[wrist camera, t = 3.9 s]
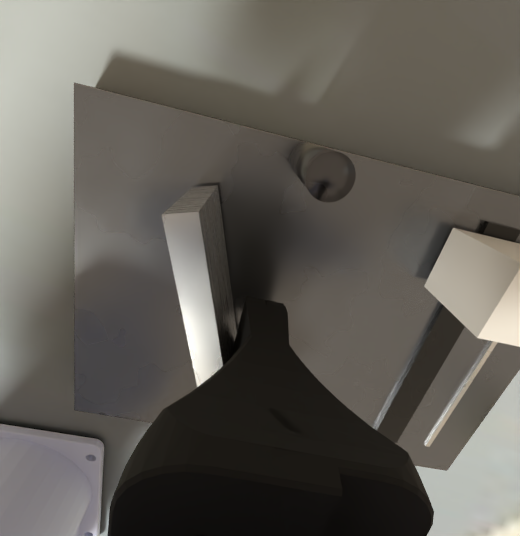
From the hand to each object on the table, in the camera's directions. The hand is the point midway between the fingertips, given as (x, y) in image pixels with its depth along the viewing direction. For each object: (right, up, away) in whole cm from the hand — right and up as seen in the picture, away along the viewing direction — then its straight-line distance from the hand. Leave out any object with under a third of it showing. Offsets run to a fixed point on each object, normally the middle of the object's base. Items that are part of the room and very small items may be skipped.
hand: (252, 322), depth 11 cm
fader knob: (+8, +2, 0) cm, 8 cm away
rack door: (-1, 0, +1) cm, 1 cm away
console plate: (+2, 0, +3) cm, 3 cm away
